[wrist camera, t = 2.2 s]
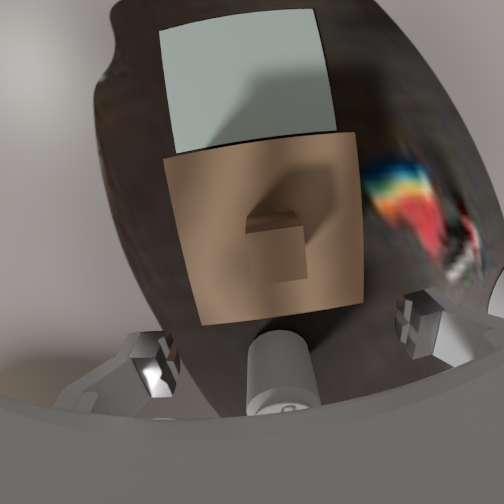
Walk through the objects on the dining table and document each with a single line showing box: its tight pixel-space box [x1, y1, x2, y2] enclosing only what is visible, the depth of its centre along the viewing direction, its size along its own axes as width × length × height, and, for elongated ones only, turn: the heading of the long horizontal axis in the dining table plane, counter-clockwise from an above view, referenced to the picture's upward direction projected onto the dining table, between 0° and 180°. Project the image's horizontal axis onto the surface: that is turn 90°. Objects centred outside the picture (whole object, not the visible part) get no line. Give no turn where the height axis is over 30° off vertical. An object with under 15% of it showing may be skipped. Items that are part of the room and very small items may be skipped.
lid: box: [163, 132, 364, 325], centre depth 19 cm, size 13×13×5 cm
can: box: [247, 330, 321, 416], centre depth 30 cm, size 8×8×12 cm
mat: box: [159, 9, 337, 153], centre depth 25 cm, size 16×14×1 cm
